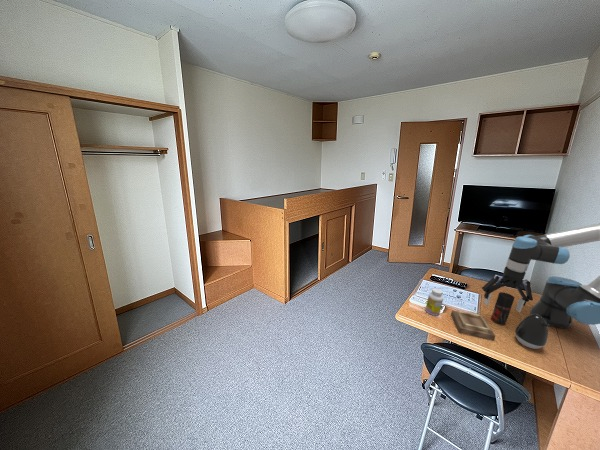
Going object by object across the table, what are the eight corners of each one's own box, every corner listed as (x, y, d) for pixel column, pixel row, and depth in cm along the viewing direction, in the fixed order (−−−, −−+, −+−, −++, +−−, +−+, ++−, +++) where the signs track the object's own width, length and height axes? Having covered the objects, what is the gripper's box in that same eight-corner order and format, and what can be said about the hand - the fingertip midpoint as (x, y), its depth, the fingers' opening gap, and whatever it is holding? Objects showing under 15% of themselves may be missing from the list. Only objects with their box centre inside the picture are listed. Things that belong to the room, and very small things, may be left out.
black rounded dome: (525, 352, 104) (537, 322, 99) (507, 334, 114) (517, 307, 109) (550, 354, 104) (563, 324, 99) (529, 336, 113) (540, 308, 109)
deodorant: (508, 326, 120) (517, 299, 116) (494, 324, 121) (503, 297, 117) (501, 318, 125) (509, 293, 121) (488, 316, 126) (496, 291, 122)
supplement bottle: (423, 307, 131) (427, 286, 128) (435, 308, 131) (440, 287, 127) (428, 315, 125) (433, 293, 121) (441, 316, 125) (447, 294, 121)
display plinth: (482, 321, 123) (484, 314, 121) (494, 340, 110) (496, 333, 109) (450, 314, 126) (452, 308, 125) (459, 332, 114) (461, 325, 112)
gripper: (542, 270, 115) (527, 308, 121) (482, 260, 121) (470, 297, 128) (553, 278, 108) (536, 318, 114) (488, 267, 115) (475, 305, 121)
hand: (501, 307), depth 121 cm, fingers open, 13 cm apart
